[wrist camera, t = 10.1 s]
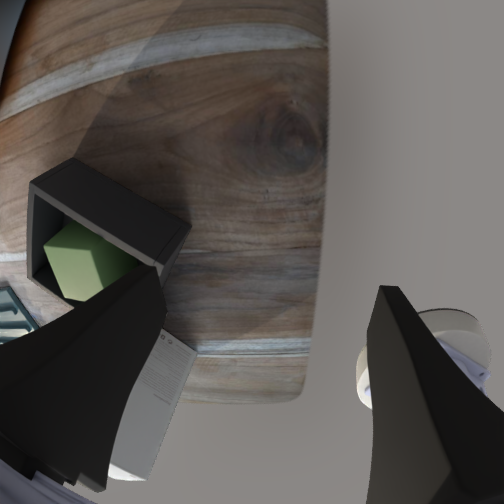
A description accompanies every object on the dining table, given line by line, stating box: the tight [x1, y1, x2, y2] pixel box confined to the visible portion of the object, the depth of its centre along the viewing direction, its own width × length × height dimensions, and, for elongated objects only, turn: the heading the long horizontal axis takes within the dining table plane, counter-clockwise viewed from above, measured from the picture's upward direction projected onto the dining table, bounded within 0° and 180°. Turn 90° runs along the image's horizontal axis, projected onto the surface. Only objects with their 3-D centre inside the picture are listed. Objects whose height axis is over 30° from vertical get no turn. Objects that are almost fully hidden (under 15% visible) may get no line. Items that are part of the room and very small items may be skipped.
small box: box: [108, 329, 197, 481], centre depth 23 cm, size 8×6×13 cm
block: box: [44, 220, 138, 302], centre depth 20 cm, size 4×4×4 cm
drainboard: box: [0, 287, 39, 344], centre depth 35 cm, size 20×12×1 cm, turn 109°
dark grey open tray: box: [27, 158, 192, 310], centre depth 20 cm, size 10×9×4 cm
